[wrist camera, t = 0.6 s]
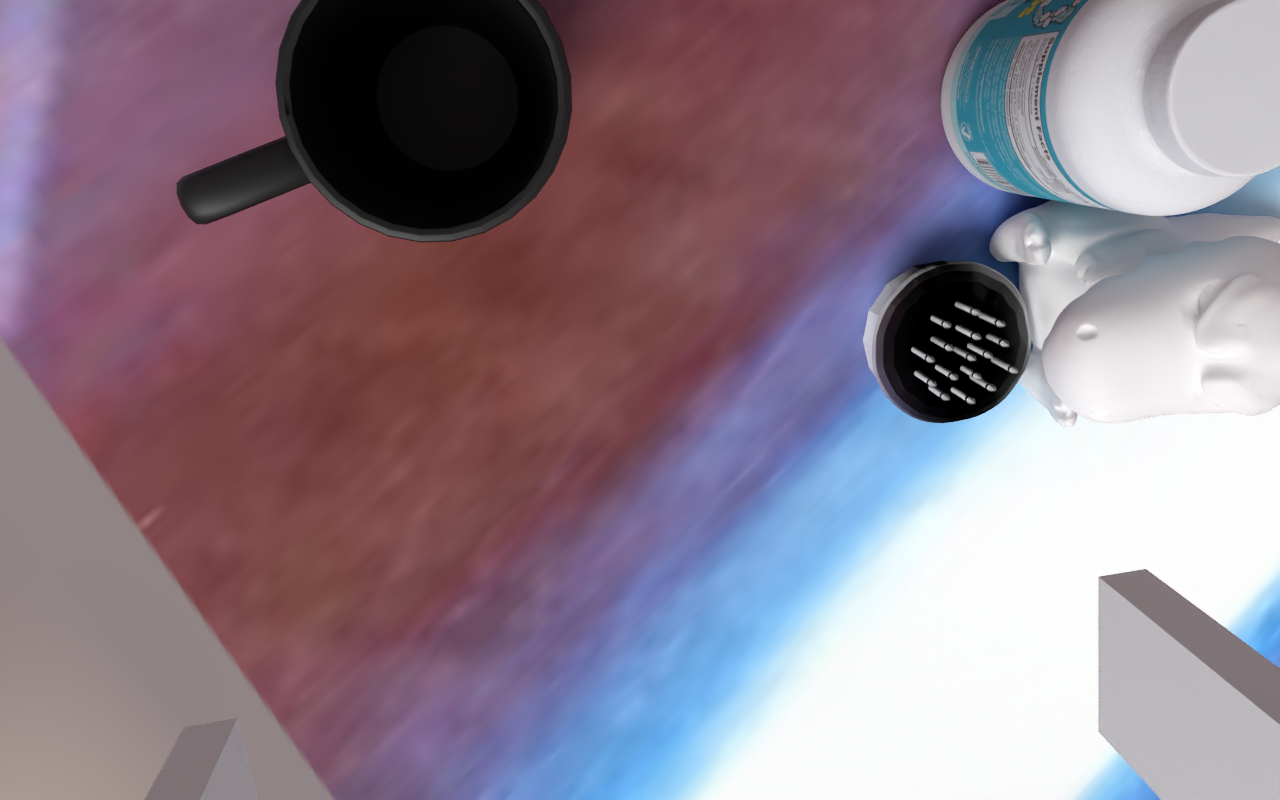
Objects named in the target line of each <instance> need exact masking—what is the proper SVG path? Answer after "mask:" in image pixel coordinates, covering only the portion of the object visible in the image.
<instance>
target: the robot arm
mask: <svg viewBox="0 0 1280 800" xmlns="http://www.w3.org/2000/svg"><path fill="white" fill-rule="evenodd" d="M1099 732H1100V734H1101V735H1102V736H1103V737H1104V738H1105V739H1106V740H1107V741H1108V742H1109V743H1110V744H1111V745H1112V747H1113V748H1114V749H1115V750H1116V751H1117V752H1118V753H1119V754H1120V755H1121V756H1122V757H1123V758H1124V760H1125V761H1126V762H1127V763H1128V764H1129V765H1130V766H1131V767H1132V768H1133V769H1134V770H1135V771H1136V773H1137V774H1138V775H1139V776H1140V777H1141V778H1142V779H1143V780H1144V781H1145V782H1146V783H1147V784H1148V786H1149V787H1150V788H1151V789H1152V790H1153V791H1154V792H1155V793H1156V794H1157V795H1158V796H1159V797H1160V799H1161V800H1280V668H1278V667H1277V666H1276V665H1274V664H1273V663H1272V662H1270V661H1269V660H1267V659H1266V658H1265V657H1263V656H1262V655H1261V654H1259V653H1258V652H1257V651H1255V650H1254V649H1253V648H1251V647H1250V646H1249V645H1247V644H1246V643H1245V642H1243V641H1242V640H1241V639H1239V638H1238V637H1237V636H1235V635H1234V634H1232V633H1231V632H1230V631H1228V630H1227V629H1226V628H1224V627H1223V626H1222V625H1220V624H1219V623H1218V622H1216V621H1215V620H1214V619H1212V618H1211V617H1210V616H1208V615H1207V614H1206V613H1204V612H1203V611H1202V610H1200V609H1199V608H1197V607H1196V606H1195V605H1193V604H1192V603H1191V602H1189V601H1188V600H1187V599H1185V598H1184V597H1183V596H1181V595H1180V594H1179V593H1177V592H1176V591H1175V590H1173V589H1172V588H1171V587H1169V586H1168V585H1166V584H1165V583H1164V582H1162V581H1161V580H1160V579H1158V578H1157V577H1156V576H1154V575H1153V574H1152V573H1150V572H1149V571H1148V570H1146V569H1144V570H1138V571H1132V572H1125V573H1119V574H1113V575H1107V576H1101V577H1099ZM145 800H258V796H257V793H256V789H255V785H254V781H253V777H252V773H251V770H250V766H249V762H248V758H247V754H246V750H245V746H244V742H243V739H242V735H241V731H240V728H239V723H238V720H237V718H236V719H231V720H224V721H219V722H212V723H206V724H200V725H195V726H188V727H184V728H183V730H182V732H181V733H180V735H179V737H178V739H177V741H176V743H175V745H174V746H173V748H172V751H171V752H170V754H169V756H168V757H167V760H166V761H165V763H164V765H163V767H162V769H161V770H160V772H159V774H158V776H157V778H156V780H155V782H154V783H153V786H152V787H151V789H150V791H149V793H148V795H147V797H146V798H145Z"/></svg>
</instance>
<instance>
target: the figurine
mask: <svg viewBox="0 0 1280 800" xmlns="http://www.w3.org/2000/svg"><path fill="white" fill-rule="evenodd" d="M1279 240H1280V220H1279V219H1277V218H1275V217H1271V216H1250V215H1228V214H1216V213H1199V214H1190V215H1184V216H1177V217H1164V216H1147V215H1139V214H1132V213H1125V212H1119V211H1114V210H1108V209H1102V208H1096V207H1091V206H1085V205H1079V204H1073V203H1067V202H1061V201H1055V200H1050V201H1048V202H1046V203H1044V204H1042V205H1040V206H1038V207H1035V208H1031V209H1027V210H1024V211H1022V212H1020V213H1018V214H1016V215H1014V216H1012V217H1011V218H1009V219H1007V220H1006V221H1004V222H1003V223H1002V224H1001V225H1000V226H999V227H998V228H997V229H996V231H995V232H994V234H993V236H992V238H991V240H990V245H989V249H990V253H991V254H992V256H993V257H995V258H996V259H997V260H998V261H1000V262H1012V261H1017V262H1018V264H1019V289H1020V293H1019V291H1018V289H1017V288H1016V287H1015V286H1014V284H1013V283H1012V282H1011V281H1010V280H1008V279H1007V278H1006V277H1005V276H1004V275H1002V274H1001V273H999V272H998V271H996V270H994V269H992V268H990V267H988V266H986V265H983V264H980V263H976V262H970V261H948V262H946V261H938V262H933V263H928V264H923V265H918V266H913V267H911V268H910V269H908V270H907V271H905V272H904V273H902V274H901V275H899V276H898V277H896V278H895V279H893V280H892V281H890V282H889V283H887V284H886V286H885V287H884V289H883V290H882V292H881V293H880V295H879V296H878V298H877V299H876V301H875V302H874V304H873V305H872V307H871V308H870V310H869V313H868V318H867V323H866V328H865V333H864V338H863V342H864V347H865V351H866V356H867V360H868V364H869V369H870V370H871V371H872V373H873V374H874V375H875V376H876V379H877V381H878V383H879V385H880V387H881V389H882V391H883V392H884V393H885V395H886V396H887V397H888V398H889V399H890V401H891V402H892V403H893V404H895V405H896V406H897V407H898V408H899V409H901V410H902V411H903V412H905V413H906V414H908V415H910V416H912V417H914V418H916V419H919V420H922V421H926V422H933V423H947V422H954V421H959V420H964V419H969V418H972V417H976V416H978V415H981V414H983V413H985V412H987V411H988V410H990V409H992V408H993V407H995V406H996V405H998V404H999V403H1000V402H1001V401H1002V400H1004V399H1005V398H1006V397H1007V395H1008V394H1009V393H1010V392H1011V391H1012V389H1013V388H1014V386H1015V385H1016V384H1017V382H1019V383H1020V384H1021V385H1022V386H1023V387H1024V388H1025V390H1026V391H1027V392H1028V393H1029V394H1030V395H1031V396H1032V397H1033V398H1034V399H1035V400H1037V401H1038V402H1039V403H1040V404H1042V405H1043V406H1044V407H1045V408H1046V409H1047V410H1048V411H1049V413H1050V414H1051V416H1052V417H1053V418H1054V420H1055V421H1056V422H1057V423H1058V424H1060V425H1061V426H1063V427H1065V428H1069V427H1073V426H1074V424H1075V422H1076V419H1077V414H1078V415H1080V416H1082V417H1084V418H1086V419H1088V420H1091V421H1095V422H1100V423H1123V422H1129V421H1135V420H1140V419H1145V418H1150V417H1156V416H1164V415H1175V414H1199V413H1229V412H1234V413H1238V414H1243V415H1248V416H1254V415H1258V414H1262V413H1266V412H1268V411H1270V410H1272V409H1273V408H1275V407H1276V406H1278V405H1280V244H1279V243H1278V241H1279ZM1031 339H1032V343H1033V349H1032V351H1031ZM1030 351H1031V352H1030Z"/></svg>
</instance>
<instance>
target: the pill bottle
mask: <svg viewBox="0 0 1280 800" xmlns="http://www.w3.org/2000/svg"><path fill="white" fill-rule="evenodd" d="M941 115H942V122H943V126H944V130H945V133H946V136H947V139H948V141H949V144H950V146H951V148H952V150H953V151H954V153H955V155H956V156H957V158H958V159H959V160H960V162H961V163H962V164H963V165H964V166H965V167H966V169H967V170H968V171H969V172H971V173H972V174H973V175H974V176H975V177H977V178H978V179H980V180H981V181H983V182H984V183H986V184H988V185H990V186H992V187H995V188H997V189H999V190H1003V191H1006V192H1010V193H1016V194H1020V195H1026V196H1032V197H1038V198H1044V199H1049V200H1055V201H1061V202H1067V203H1073V204H1079V205H1085V206H1091V207H1096V208H1102V209H1108V210H1114V211H1119V212H1125V213H1132V214H1139V215H1147V216H1169V215H1178V214H1184V213H1188V212H1192V211H1196V210H1199V209H1202V208H1205V207H1208V206H1210V205H1212V204H1215V203H1217V202H1219V201H1221V200H1223V199H1225V198H1226V197H1228V196H1230V195H1232V194H1233V193H1235V192H1236V191H1238V190H1239V189H1240V188H1242V187H1243V186H1244V185H1245V184H1247V183H1248V182H1249V181H1250V180H1251V179H1253V178H1254V177H1255V176H1256V175H1257V174H1261V173H1264V172H1267V171H1269V170H1272V169H1274V168H1276V167H1278V166H1280V0H1006V1H1004V2H1002V3H1000V4H998V5H997V6H995V7H993V8H992V9H990V10H989V11H988V12H986V13H985V14H984V15H983V16H981V17H980V18H979V19H978V20H977V21H976V22H975V23H974V24H973V25H972V26H971V27H970V28H969V29H968V30H967V32H966V33H965V34H964V36H963V37H962V38H961V40H960V41H959V43H958V44H957V46H956V48H955V50H954V51H953V54H952V56H951V58H950V60H949V63H948V65H947V68H946V71H945V75H944V79H943V84H942V90H941Z"/></svg>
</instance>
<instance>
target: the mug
mask: <svg viewBox="0 0 1280 800" xmlns="http://www.w3.org/2000/svg"><path fill="white" fill-rule="evenodd" d="M275 84H276V93H277V102H278V110H279V118H280V121H281V124H282V127H283V130H284V133H285V137H282V138H280V139H277V140H275V141H272V142H269V143H267V144H264V145H262V146H259V147H257V148H254V149H252V150H249V151H247V152H244V153H242V154H239V155H237V156H234V157H232V158H229V159H227V160H224V161H222V162H219V163H217V164H214V165H211V166H209V167H206V168H204V169H201V170H199V171H196V172H194V173H191V174H189V175H186V176H184V177H182V178H181V179H180V180H179V181H178V182H177V196H178V199H179V201H180V204H181V207H182V208H183V210H184V211H185V213H186V214H187V216H188V217H189V218H190V219H191V220H192V221H194V222H195V223H196V224H208V223H211V222H214V221H217V220H219V219H222V218H224V217H227V216H230V215H232V214H235V213H237V212H240V211H242V210H245V209H247V208H250V207H252V206H255V205H257V204H260V203H262V202H265V201H267V200H270V199H272V198H274V197H277V196H279V195H282V194H284V193H287V192H289V191H292V190H294V189H297V188H299V187H302V186H304V185H306V184H309V183H312V184H313V185H314V186H315V187H316V189H317V190H318V191H319V192H320V193H321V194H322V195H323V196H324V197H325V198H326V199H327V200H328V201H329V202H330V204H331V205H333V206H334V207H336V208H337V209H339V210H340V211H341V212H343V213H344V214H346V215H347V216H349V217H350V218H351V219H353V220H354V221H356V222H357V223H359V224H361V225H363V226H365V227H368V228H370V229H373V230H375V231H377V232H380V233H382V234H384V235H387V236H389V237H394V238H400V239H405V240H411V241H416V242H447V241H456V240H460V239H464V238H467V237H471V236H475V235H478V234H482V233H485V232H487V231H489V230H491V229H492V228H494V227H496V226H498V225H500V224H502V223H504V222H505V221H507V220H509V219H511V218H512V217H514V216H515V215H516V214H517V213H518V212H519V211H520V210H522V209H523V208H524V207H525V206H526V205H527V204H528V203H529V202H531V201H532V200H533V199H534V198H535V197H536V196H537V194H538V193H539V192H540V190H541V189H542V187H543V186H544V185H545V183H546V182H547V180H548V179H549V178H550V176H551V175H552V173H553V172H554V170H555V168H556V165H557V163H558V161H559V158H560V156H561V153H562V151H563V149H564V146H565V144H566V141H567V135H568V130H569V124H570V118H571V113H572V94H571V75H570V71H569V67H568V63H567V60H566V56H565V52H564V48H563V44H562V41H561V39H560V37H559V36H558V34H557V32H556V30H555V28H554V26H553V24H552V22H551V20H550V18H549V16H548V14H547V12H546V10H545V9H544V8H543V7H542V6H541V4H540V3H539V2H538V1H537V0H301V1H300V3H299V4H298V6H297V8H296V9H295V11H294V12H293V14H292V15H291V17H290V20H289V23H288V25H287V28H286V31H285V34H284V37H283V39H282V42H281V45H280V48H279V55H278V64H277V73H276V82H275Z"/></svg>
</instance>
